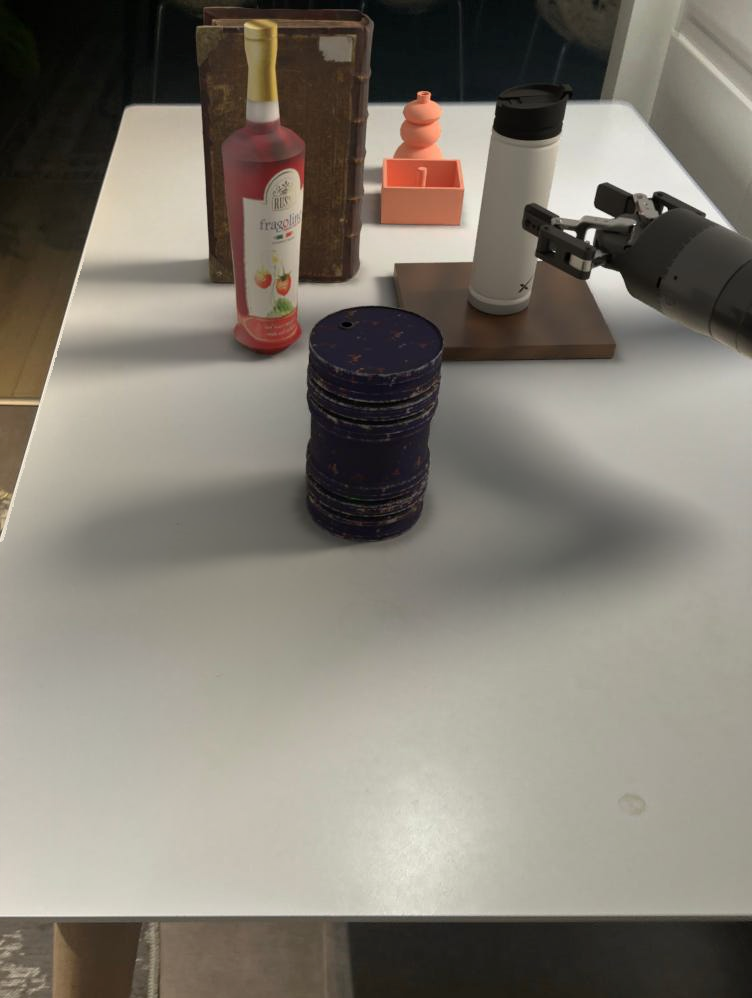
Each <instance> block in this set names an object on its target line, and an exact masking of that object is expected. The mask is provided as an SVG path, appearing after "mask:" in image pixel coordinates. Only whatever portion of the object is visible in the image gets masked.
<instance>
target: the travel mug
mask: <svg viewBox="0 0 752 998" xmlns="http://www.w3.org/2000/svg"><path fill="white" fill-rule="evenodd" d="M573 98H574V91H573V89H572V87H571V85H569V83H568V84H567V83H566V84H565V83H564V84H554V83H549V82H548V83H546V82H539V83H538V82H537V83H535V82H533V83H526V84H521V85H516V86H513V87H510V88H507V89H505V90H504V91H502V92H500V94H499V95H498V97H497V100H496V103H495V109H494V118H493V121H492V122H493V124H492V126H491V135H490V140H489V146H488V154H487V161H486V167H485V175H484V181H483V188H482V195H481V201H480V202H481V203H480V208H479V216H478V222H477V229H476V230H477V231H476V237H475V243H474V244H475V246H474V252H473V256H472V257H473V258H472V262H473V264H472V271H471V278H470V286H469V292H468V300H469V302H470V304H471V305H472V306H473V307H475V308H476V309H477V310H480V311H482V312H485V313H488V314H493V315H510V314H515V313H518V312H520V311H522V310H524V309H525V308H526V307H527V306H528V304H529V300H530V295H531V289H532V284H533V279H534V274H535V269H536V264H537V261H538V260H539V258H537V257H535V250H536V247H537V242H538V237H536V236H534V235H533V234H531V233H529V232H527V231H525V230H524V229H523V228H522V219H523V214H524V208H525V206H526V205H527V204H531V203H536V204H538V205H540V206H541V207H543V208H545V209H547V210H548V208H549V207H548V206H549V201H550V195H551V191H552V186H553V181H554V177H555V171H556V166H557V162H558V161H557V160H558V156H559V155H558V154H559V150H560V144H561V138H562V133H563V126H564V120H565V115H566V110H567V104H568V99H570V100H573Z"/></svg>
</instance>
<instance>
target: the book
mask: <svg viewBox="0 0 752 998" xmlns="http://www.w3.org/2000/svg"><path fill="white" fill-rule="evenodd" d="M202 9H203V10H202V17H203V18H202V19H203V25H197V26H196V27H195V46H196V47H195V48H196V61H197V67H198V73H199V75H198V76H199V92H200V94H199V95H200V106H201V107H200V110H201V126H202V127H201V128H202V129H201V130H202V132H201V133H202V146H203V160H204V162H203V163H204V180H205V181H204V182H205V202H206V203H205V204H206V220H207V221H206V223H207V240H208V270H209V273H208V274H209V280H210V282H214V283H215V282H218V283H235V281H234V270H233V258H232V247H231V238H230V230H229V221H228V212H227V203H226V191H225V179H224V168H223V158H222V148H221V146H222V144H223V142H224V141H225V140H226V139H227V138H228V137H229V136H230V135H231V134H232V133H233V132H235V131H236V130H238V129H240V128H242V127H245V126H246V108H247V89H248V70H249V67H248V62H247V57H246V51H245V38H244V24H245V23H246V22H248V21H252V20H272V21H275V22H276V23H277V45H278V48H277V56H276V64H275V71H276V82H277V94H278V105H279V116H280V125H281V126H284V127H286V128H289V129H291V130H292V131H293V132H295V133H296V134H297V135H298V136H299V137H300V138H301V139H302V140H303V141H304V142H305V163H304V187H303V208H302V223H301V237H300V254H299V278H298V281H308V282H316V283H344V282H345V281H347V280H351V279H352V278H354V277H355V276H356V275H358V272H359V270H360V267H361V261H360V241H361V232H362V228H363V222H362V209H363V196H364V193H365V187H364V173H365V171H364V170H365V160H366V156H367V149H366V143H367V142H366V141H367V126H368V119H369V116H370V113H369V108H368V107H369V89H370V78H371V76H372V69H371V58H372V57H371V56H372V45H373V35H374V28H375V22H374V21H373V20H372V19H371V18H370V16H369V15H368V14H366V13H363V12H362V11H360V10H359V9H345V8H344V9H341V8H340V9H338V8H337V9H330V8H327V9H326V8H324V9H323V8H322V9H297V8H296V9H295V8H294V9H293V8H252V7H251V8H248V7H241V6H207V7H203V8H202Z"/></svg>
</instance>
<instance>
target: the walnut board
mask: <svg viewBox="0 0 752 998" xmlns="http://www.w3.org/2000/svg"><path fill="white" fill-rule="evenodd" d="M472 264H473V261H448V262H447V261H444V262H443V261H442V262H440V261H439V262H394V265H393V280H394V281H393V282H394V285H395V286H394V287H395V291H396V297H397V301H398V306H399V307H398V308H401V309H405V310H409V311H412V312H414V313H417V314H420V315H422V316H423V317H425V318H427V319H429V320H430V321H432V322H433V323H434V324H435V325H436V326H437V327H438V328H439V329H440V331H441V332H442V334H443V337H444V349H443V355H442V362H444V361H445V362H446V361H500V360H501V361H502V360H506V361H507V360H556V359H557V360H563V359H566V360H567V359H569V360H571V359H613V358H614V357H615V352H616V349H617V342H616V340H615V338H614V335H613V334H612V332H611V330H610V328H609V326H608V323H607V322H606V320H605V317H604V316H603V313H602V311H601V310H600V309H601V308H600V307H599V305H598V303H597V301H596V299H595V297H594V295H593V293H592V291H591V288H590V287H589V284H588V283H587V280H580V279H577V278H575V277H573V276H571V275H569V274H567V273H566V272H564V271H562V270H560V269H558V268H556V267H554V266H552V265H550V264H548V263H546V262H544V261H543V260H537V264H536V269H535V274H534V279H533V284H532V289H531V295H530V300H529V304H528V306H527V307H526V308H525V309H524V310H522V311H520V312H518V313H515V314H510V315H493V314H488V313H485V312H482V311H480V310H477V309H476V308H475V307H473V306H472V305H471V304H470V302H469V300H468V292H469V286H470V278H471V271H472Z"/></svg>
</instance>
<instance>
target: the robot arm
mask: <svg viewBox="0 0 752 998" xmlns="http://www.w3.org/2000/svg"><path fill="white" fill-rule="evenodd" d="M593 206H594V208H595V209H596V210H598V211H600V212H602V213H604V214H606V215H608V216H610V217H612V218H608V217H600V216H594V215H583V216H582V217H581V218H580V219H573V218H566V217H561V216H560V215H559V214H556V212H552V211H551V210H549V209H548V208H547V209H545V208H543V207H541V206H540V205H538V204H536V203H531V204H527V205H526V206H525V208H524V214H523V219H522V228H523V229H524V230H525V231H527V232H529V233H531V234H533V235H534V236H536V237H538V242H537V247H536V250H535V257H537V258H538V260H540V261H544V262H546V263H548V264H550V265H552V266H554V267H556V268H558V269H560V270H562V271H564V272H566V273H567V274H569V275H571V276H573V277H575V278H577V279H580V280H586V281H587V280H589V279H590V278H591V274H592V270H594V269H597V268H598V267H601V268H603V269H607V270H611V271H615V272H618V273H619V274H620V276H621V278H622V280H623V283H624V286H625V288H626V291H627V292H628V294H629V295H630V296H631V297H632V298H634V299H635V300H637V301H639V302H641V303H643V304H645V305H647V306H648V307H650V308H652V309H653V310H655V311H656V312H658V313H660V314H662V315H664V316H666V317H667V318H669V319H671V320H673V321H675V322H676V323H678V324H680V325H681V326H683V327H685V328H687V329H689V330H691V331H693V332H695V333H698V334H701V335H704V336H707V337H709V338H711V339H713V340H716V341H717V342H719V343H721V344H722V345H724V346H726V347H728V348H730V349H732V350H733V351H735V352H737V353H739V354H740V355H742V356H744V357H746V358H748V359H749V360H751V361H752V239H751V238H749V237H746V236H745V235H742V234H741V233H738V232H736V231H734V230H732V229H730V228H728V227H725V226H724V225H722V224H719V223H718V222H715V221H713V220H710V219H709V218H706V216H707V213H706V212H704V211H702V210H700V209H698V208H696V207H694V206H692V205H691V204H689V203H687V202H684V201H682V200H680V199H679V198H676V197H675V196H673V195H671V194H669V193H667V192H664V191H661V190H658V191H654V192H652V196H651V197H648V195H647V194H645V193H642V192H637V193H634V194H633V193H631V192H629V191H626V190H624V189H622V188H620V187H619V186H616V185H614V184H612V183H610V182H609V181H608V182H607V181H605V182H602V183H599V184H598V185H597V186H596V190H595V194H594V199H593ZM664 208H666V209H667V211H665V212H664ZM592 229H593V230H595V232H594V236H593V240H592V244H591V241H590V240H587V235H588V231H589V230H592ZM564 230H565V231H564ZM566 231H570V232H574V233H575V234H576V235H575V236H574V235H572V234H569V233H568V232H566Z"/></svg>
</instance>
